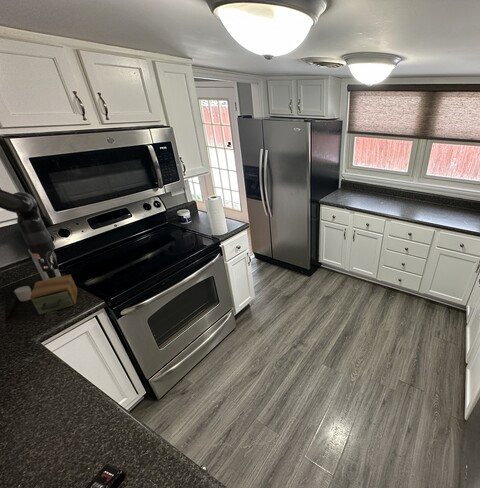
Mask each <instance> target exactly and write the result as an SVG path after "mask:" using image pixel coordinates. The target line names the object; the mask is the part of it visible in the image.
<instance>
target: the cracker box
mask: <svg viewBox="0 0 480 488" xmlns="http://www.w3.org/2000/svg"><path fill="white" fill-rule="evenodd" d="M27 251H28V254H29V255H30V257H31V259H32V261H33V263H34V265H35V267H36V270H37V271H38V273H39V275H40V277H41V280H42V281H43V280H47V279H52V278H49V277H48V275H47V273H46V272H43V270H42V268H41V266H40V264H39V262H38V259H39V254H33V253H31V252H30V250H29V249H27ZM49 263H50V262H49ZM46 268H48V266H46ZM54 272H55V274H56V277H61V276H62V275H61V272H60V270H59V269H55V270H54ZM56 277H54V278H56Z"/></svg>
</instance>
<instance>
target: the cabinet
mask: <svg viewBox="0 0 480 488" xmlns="http://www.w3.org/2000/svg"><path fill="white" fill-rule="evenodd" d="M63 290H67V292H68V294H69V296H70V299H71V301H72V303H73V306H74V305H76V304H77V297H78V288H77V285H76V283H75V281H74V279H73V276H72V274H70V273H69V274H66V275H61V277H56V278H52V279H47V280H43V279H42V280H39V281H36V282H35V283H34V286H33V289H32V294H31V296H30V298H31V299H30V300H31V301H32V300H33V299H36V297H39V296H43V295H47V294H51V293H55V292H59V291H63Z"/></svg>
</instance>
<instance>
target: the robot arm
mask: <svg viewBox="0 0 480 488" xmlns="http://www.w3.org/2000/svg"><path fill="white" fill-rule="evenodd" d="M38 205H39V204H38V203H37V200H36V199H35V198H34V196H33V195H31V194H30V193H28V192H24V191H18V192H17V191H16V192H13V193H11V192H10V191H7V190H3V189H2V187H0V209H2V210H4V211H8V212H10V213H15V214H16V216H17V220H16V222H17V226H18V228H19V230H20V232H21V234H22V237H23V240H24V242H25V244H26V246H27V248H28V250H30V252H31V253H33V254H39V259H38V262H39V264H40V266H41V268H42V270H43V272H46V273H47V275H48V277H49V278H54V277H56V274H55V272H54V270H55V269H58V270H59V269H60V266H59V264H58V262H57V260H58V259H57V257H58V256H57V254H56V253H55V251H54V250H55V249H56V245H55V243H54V241H53V239H52V236H51V234H50V233H49V231H48V229H47V227H46V225H45V223H44V221H43V219H42V217H41V212H40V209H39V206H38ZM49 262H50V263H49ZM46 266H48V268H46Z"/></svg>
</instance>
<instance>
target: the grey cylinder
mask: <svg viewBox="0 0 480 488" xmlns="http://www.w3.org/2000/svg"><path fill="white" fill-rule="evenodd" d="M32 291H33V289H32V288H31V287H30V286H29V285H24V286H20V287H18V288H16V289H15V290H13V292H14V294H15V295H16V297H17V299H18V301H19V302H27V301H29V300H31V298H30V296H31V294H32Z"/></svg>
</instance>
